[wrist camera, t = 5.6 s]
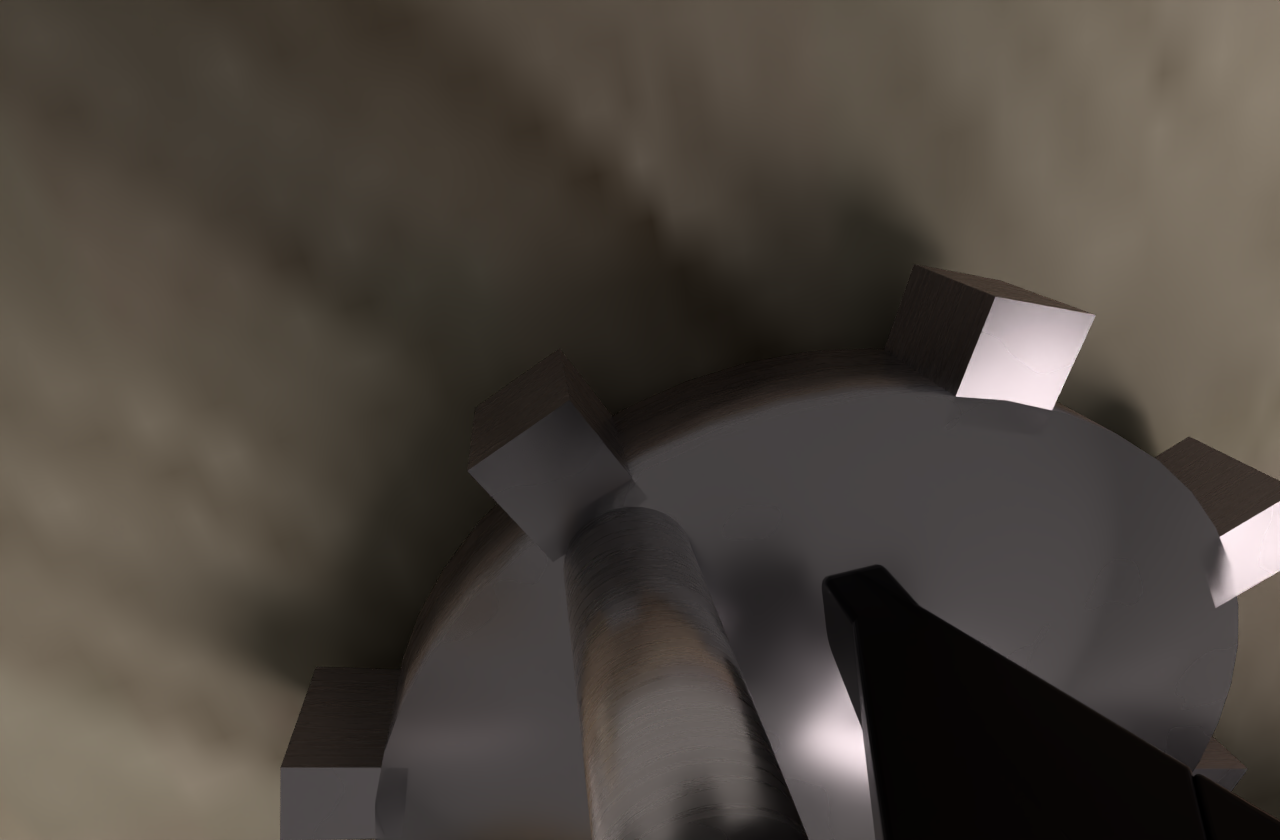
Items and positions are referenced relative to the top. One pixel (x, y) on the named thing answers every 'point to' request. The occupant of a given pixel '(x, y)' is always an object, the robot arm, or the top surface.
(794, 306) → the top surface
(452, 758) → the sprocket
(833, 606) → the robot arm
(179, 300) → the top surface
